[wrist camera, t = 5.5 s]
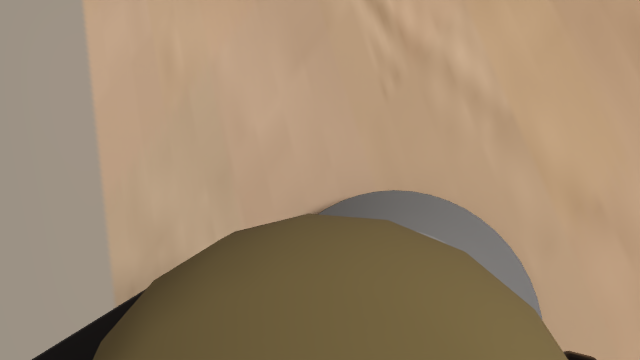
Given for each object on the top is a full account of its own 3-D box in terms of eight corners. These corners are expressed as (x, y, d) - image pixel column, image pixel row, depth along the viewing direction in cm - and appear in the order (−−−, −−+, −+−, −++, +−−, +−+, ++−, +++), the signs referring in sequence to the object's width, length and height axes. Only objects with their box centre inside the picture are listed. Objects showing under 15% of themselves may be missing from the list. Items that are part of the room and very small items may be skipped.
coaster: (476, 529, 20) (478, 541, 19) (222, 395, 22) (213, 401, 21) (582, 256, 20) (589, 255, 19) (325, 155, 23) (321, 150, 22)
